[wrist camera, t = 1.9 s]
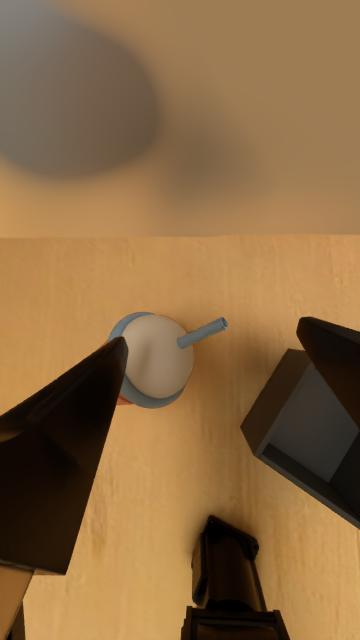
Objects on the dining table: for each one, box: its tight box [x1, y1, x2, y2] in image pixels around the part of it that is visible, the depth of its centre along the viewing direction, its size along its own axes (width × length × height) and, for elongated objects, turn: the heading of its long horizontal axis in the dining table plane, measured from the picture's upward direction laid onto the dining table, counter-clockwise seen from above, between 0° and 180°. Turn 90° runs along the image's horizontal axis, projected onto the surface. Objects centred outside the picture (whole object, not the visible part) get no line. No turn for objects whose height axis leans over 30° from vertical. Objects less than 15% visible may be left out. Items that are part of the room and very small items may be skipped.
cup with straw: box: [100, 312, 228, 408], centre depth 17 cm, size 9×9×18 cm
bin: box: [240, 349, 360, 530], centre depth 20 cm, size 12×12×6 cm
